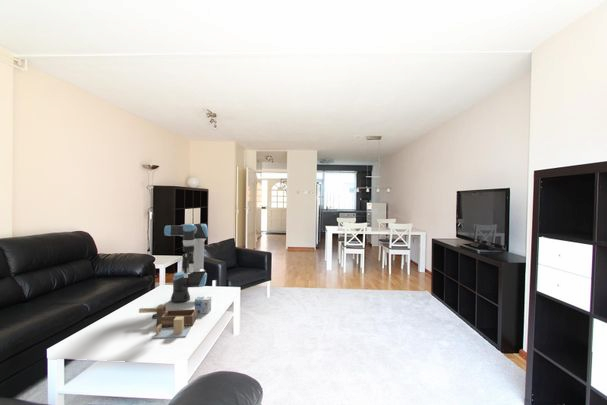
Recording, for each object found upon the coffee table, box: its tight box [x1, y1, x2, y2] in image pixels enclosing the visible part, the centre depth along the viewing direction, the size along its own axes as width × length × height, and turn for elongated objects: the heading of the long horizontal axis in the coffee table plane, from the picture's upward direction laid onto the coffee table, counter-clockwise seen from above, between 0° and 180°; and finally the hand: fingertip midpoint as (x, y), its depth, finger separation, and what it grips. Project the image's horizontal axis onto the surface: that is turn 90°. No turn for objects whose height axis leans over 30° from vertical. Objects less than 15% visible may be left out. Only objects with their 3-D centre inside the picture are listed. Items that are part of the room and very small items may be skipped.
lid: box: [152, 316, 191, 340], centre depth 185 cm, size 12×19×10 cm, turn 98°
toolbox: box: [156, 303, 197, 329], centre depth 200 cm, size 12×24×12 cm, turn 98°
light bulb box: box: [194, 295, 212, 315], centre depth 221 cm, size 11×7×11 cm, turn 88°
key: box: [138, 307, 157, 314], centre depth 198 cm, size 2×14×2 cm, turn 98°
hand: (188, 275), depth 208 cm, fingers open, 13 cm apart
